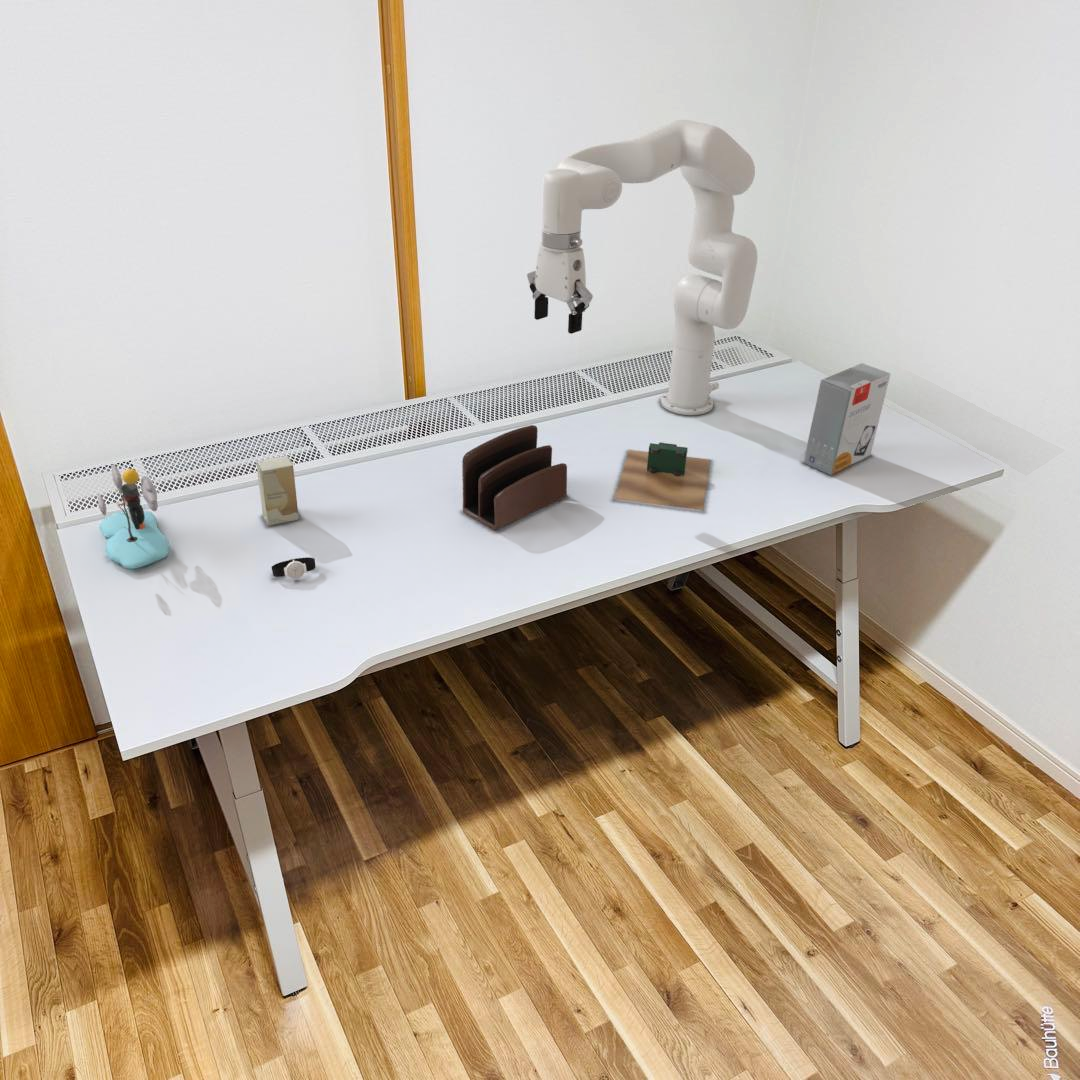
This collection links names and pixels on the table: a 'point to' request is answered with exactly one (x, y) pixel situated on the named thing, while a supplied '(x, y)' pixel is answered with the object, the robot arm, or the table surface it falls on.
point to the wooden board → (663, 483)
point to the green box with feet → (667, 458)
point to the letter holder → (510, 478)
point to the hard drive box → (846, 418)
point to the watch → (293, 567)
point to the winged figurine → (133, 524)
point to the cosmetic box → (277, 490)
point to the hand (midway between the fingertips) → (557, 324)
